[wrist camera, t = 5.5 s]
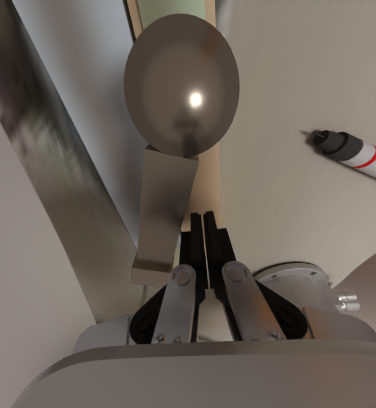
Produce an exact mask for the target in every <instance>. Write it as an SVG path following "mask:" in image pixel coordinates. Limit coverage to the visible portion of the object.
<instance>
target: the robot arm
mask: <svg viewBox="0 0 376 408" xmlns="http://www.w3.org/2000/svg"><path fill="white" fill-rule="evenodd" d="M190 220H191V231H185V232H181V244H180V259H179V266H177V267H175V268H174V269H173V270H172V271H171V273H170V276H169V280H168V283H167V284H166V285H165V286H164V287H163V288H162V289H161V290H160V291H158V292H157V293H156V294H155V295H154V296H153V297H152V298H151V299H150V300H149V301H148V302H147V303H146V304H145V305H144V306H143V307H142V308H140V309H139V310H138V311H137V313H136V314H134V315H131V316H129V315H125V316H122V317H119V318H116V319H113V320H110V321H106V322H103V323H100V324H97V325H94V326H91V327H89V328H88V329H86V330H85V331H84V332H83V333H82V334H81V335H80V337H79V338H78V340H77V342H76V344H75V347H74V350H73V354H72V355H70V356H68V357H65V358H63V359H62V360H60V361H58V362H56V363H55V364H53V365H51V366H50V367H48V368H47V369H45V370H44V371H43V372H42V373H40V374H39V375H38V376H37V377H36V378H35V379H33V380H32V381H31V383H30V384H29V385H28V386H27V387H26V388H25V389H24V391H23V392H22V393H21V394H20V396H19V397H18V399H17V400H16V401H15V402H14V404H13V405H12V407H11V408H376V332H375V331H374V329H372V327H370V326H369V325H368V324H367V323H366V322H364V321H362V320H361V319H359V318H357V317H354V316H351V315H347V314H341V313H340V311H339V310H344V311H350V310H359V308H360V306H359V303H358V302H357V297H356V295H355V293H354V292H353V291H351V290H341V291H334V290H332V289H331V287H330V286H329V278H328V276H327V275H326V274H325V272H324V271H323V270H322V269H321V268H319V267H318V266H315V265H312V264H306V263H290V264H283V265H279V266H275V267H272V268H269V269H267V270H264V271H263V272H261V273H259V274H257V275H256V276H255V277H253V276H252V274H251V272H250V271H249V269H248V268H247V266H245V265H244V264H243V263H241V262H238V261H236V258H235V255H234V252H233V248H232V245H231V242H230V238H229V235H228V232H227V229H226V228H221V229H217V225H216V221H215V216H214V212H213V211H206V214H203V222H204V234H205V245H206V254H207V262H208V271H209V279H210V288H211V289H214V293H215V295H216V298H217V299H218V300H220V301H221V302H222V306H223V309H224V312H225V316H226V319H227V322H228V325H229V329H230V332H231V335H232V338H233V341H226V342H198V331H199V318H200V304H201V303H202V302H203V300H204V299H205V289H208V279H207V267H206V256H205V247H204V237H203V228H202V219H201V214H198V212H196V213H190Z"/></svg>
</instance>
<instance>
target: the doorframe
mask: <svg viewBox="0 0 376 408" xmlns="http://www.w3.org/2000/svg"><path fill="white" fill-rule="evenodd" d="M12 1H13V3H14V5H15V7H16V9H17V11H18V13H19V15H20V17H21V19H22V21H23V23H24V25H25V27H26V29H27V31H28V33H29V35H30V37H31V39H32V41H33V43H34V45H35V47H36V49H37V51H38V53H39V55H40V57H41V59H42V61H43V63H44V65H45V67H46V69H47V71H48V73H49V75H50V77H51V79H52V81H53V83H54V85H55V87H56V89H57V91H58V93H59V95H60V97H61V99H62V101H63V103H64V105H65V107H66V109H67V111H68V113H69V115H70V117H71V119H72V121H73V123H74V125H75V127H76V129H77V131H78V133H79V135H80V137H81V139H82V141H83V143H84V145H85V147H86V149H87V151H88V153H89V155H90V157H91V159H92V161H93V163H94V165H95V167H96V169H97V171H98V173H99V175H100V177H101V179H102V181H103V183H104V185H105V187H106V189H107V191H108V193H109V195H110V197H111V199H112V201H113V203H114V205H115V207H116V208H117V210H118V212H119V214H120V216H121V218H122V220H123V222H124V224H125V226H126V228H127V230H128V232H129V234H130V236H131V238H132V240H133V242H134V244H135V246H136V248H137V247H138V233H139V218H140V204H141V189H142V175H143V160H144V148H145V147H146V146H147V145H148V144H149V143H148V142H147V141H146V140H145V139H144V138H143V137H142V136H141V135H140V133H139V132H138V130H137V129H136V127H135V126H134V124H133V122H132V120H131V117H130V115H129V112H128V109H127V105H126V101H125V95H124V72H125V66H126V62H127V58H128V55H129V53H130V50H131V48H132V46H133V44H134V42H135V41H136V39H137V37H138V36H139V35H140V34H141V32H142V31H143V30H144V29H145V28H146V27H147V26H149V25H150V24H151V23H152V22H154V21H156V20H157V19H159V18H161V17H164V16H167V15H171V14H177V13H180V14H190V15H194V16H197V17H199V18H201V19H204V20H206V21H207V22H208V23H210V24H211V25H213V26H214V27H215V28H216V23H215V0H12ZM198 157H199V165H198V168H197V172H196V176H195V179H194V183H193V187H192V190H191V194H190V197H189V201H188V205H187V208H186V212H185V216H184V219H183V223H182V226H181V230H180V234H179V237H178V241H177V245H176V246H180V244H181V232H185V231H191V220H190V213H196V212H198V214H201V219H202V228H203V237H204V247H205V253H206V245H205V234H204V222H203V214H206V211H213V212H214V216H215V221H216V225H217V229H221V228H222V210H221V179H220V148H219V142H217V143H216V144H215V145H214V146H213V147H211V148H210V149H209V150H207V151H205V152H203V153H201V154H198Z"/></svg>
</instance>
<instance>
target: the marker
mask: <svg viewBox="0 0 376 408" xmlns="http://www.w3.org/2000/svg"><path fill="white" fill-rule="evenodd" d="M312 134H314V135H316V138H315V140H314V143H315V145H317V146H318V147H320V148H321V149H322V152H323V154H325V155H327V156H329V157H331V158H334V159H336V160H337V161H339V162H341V163H344V164H346V165H348V166H350V167H353V168H355V169H357V170H359V171H361V172H364V173H366V174H368V175H370V176H373V177H375V178H376V146H374V145H372V144H370V143H368V142H366V141H364V140H362V139H358V138H356V137H354V136H352V135H350V134H348V133H346V132H339V133H334V132H331V131H327V130H325V131H322V132H321V133H319V134H318V133H316V132H313V133H312ZM344 141H345V142H344Z"/></svg>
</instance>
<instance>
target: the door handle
mask: <svg viewBox="0 0 376 408" xmlns="http://www.w3.org/2000/svg"><path fill="white" fill-rule="evenodd" d="M124 95H125V101H126V105H127V109H128V112H129V115H130V117H131V120H132V122H133V124H134V126H135V127H136V129H137V130H138V132H139V133H140V135H141V136H142V137H143V138H144V139H145V140H146V141H147V142H148V143H149V144H148V145H147V146H146V147H145V148H144V160H143V175H142V189H141V204H140V218H139V233H138V247H137V254H136V257H135V260H134V263H133V266H132V274H131V284H140V285H148V286H156V287H164V286H165V285H166V284H167V283H168V280H169V276H170V273H171V271H172V270H173V261H174V252H175V248H176V245H177V241H178V237H179V234H180V230H181V226H182V223H183V219H184V216H185V212H186V208H187V205H188V201H189V197H190V194H191V190H192V187H193V183H194V179H195V176H196V172H197V168H198V165H199V157H198V154H201V153H203V152H205V151H207V150H209V149H210V148H211V147H213V146H214V145H215V144H216V143H217V142H219V141H220V139H221V138H222V137H223V136H224V135H225V133H226V132H227V130H228V129H229V127H230V125H231V123H232V121H233V118H234V116H235V113H236V109H237V105H238V100H239V74H238V68H237V64H236V61H235V58H234V55H233V53H232V50H231V48H230V46H229V45H228V43H227V41H226V40H225V38H224V37H223V36H222V34H221V33H220V32H219V31H218V30H217V29H216V28H215V27H214V26H213V25H211V24H210V23H208V22H207V21H206V20H204V19H201V18H199V17H197V16H194V15H190V14H180V13H177V14H171V15H167V16H164V17H161V18H159V19H157V20H156V21H154V22H152V23H151V24H150V25H149V26H147V27H146V28H145V29H144V30H143V31H142V32H141V34H140V35H139V36H138V37H137V39H136V41H135V42H134V44H133V46H132V48H131V50H130V53H129V55H128V58H127V62H126V66H125V72H124Z"/></svg>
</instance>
